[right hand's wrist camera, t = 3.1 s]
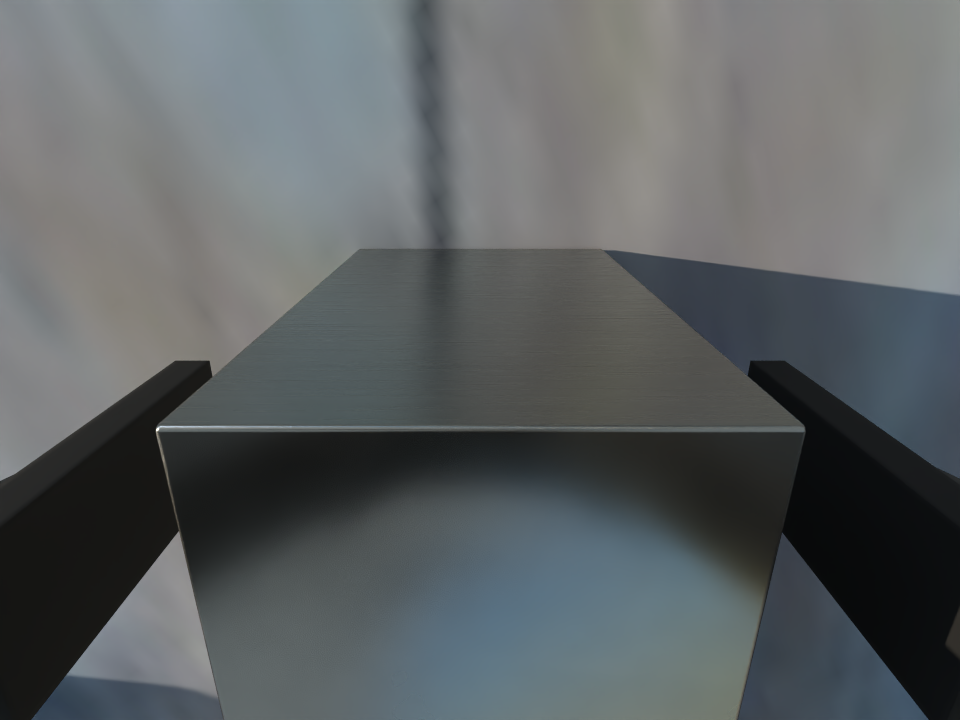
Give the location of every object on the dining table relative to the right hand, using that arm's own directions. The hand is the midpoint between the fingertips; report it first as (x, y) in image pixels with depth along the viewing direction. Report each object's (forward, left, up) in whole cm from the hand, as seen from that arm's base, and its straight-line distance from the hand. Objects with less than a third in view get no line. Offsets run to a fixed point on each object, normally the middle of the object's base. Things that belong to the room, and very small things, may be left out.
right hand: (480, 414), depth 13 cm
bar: (+5, +8, -2) cm, 10 cm away
